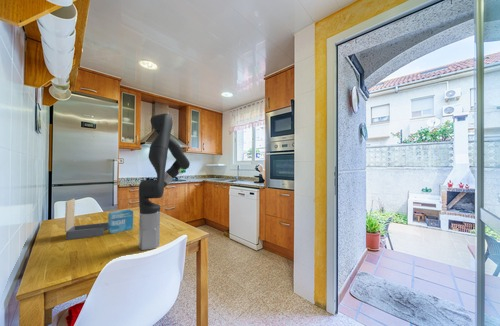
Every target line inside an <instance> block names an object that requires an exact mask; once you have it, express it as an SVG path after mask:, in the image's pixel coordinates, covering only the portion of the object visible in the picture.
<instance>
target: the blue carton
mask: <svg viewBox="0 0 500 326" xmlns="http://www.w3.org/2000/svg"><path fill="white" fill-rule="evenodd" d="M107 216H108V217H107V223H108V230H107V231H108V232H109V233H110V234H117V233H122V232H126V231H130V230H132V229H133V227H134V212H133V210H131V209H124V210H123V209H122V210H118V211H110V212H109V213H108V215H107Z"/></svg>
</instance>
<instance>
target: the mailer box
mask: <svg viewBox="0 0 500 326" xmlns="http://www.w3.org/2000/svg"><path fill="white" fill-rule="evenodd" d="M75 201H76V198H72V199H69V200H66V201H65V214H64V215H65V216H64V217H65V219H64V220H65V221H64V224H65V225H64V232H66V233H65V241H69V240H77V239H85V238H92V237H94V238H95V237H101V236H104V235H105V232H104V231H108V222H98V223H90V224H80V225H75V209H76V208H75V207H76V206H75V205H76V204H75V203H76V202H75Z"/></svg>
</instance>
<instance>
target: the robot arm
mask: <svg viewBox="0 0 500 326" xmlns="http://www.w3.org/2000/svg"><path fill="white" fill-rule="evenodd" d="M149 121H150V124H151V126H152V128H153V130H154V131H155V132H156V134H157V136H156V137H155V138H154V140H153V141H152V142H151V144H150V145H149V150H148V160H149V161H150V164H151V165H152V167H153V168H154V171H155V172H156V179H153V180H152V179H145V180H141V181H140V183H139V186H138V201H139V202H138V205H139V207H138V209H139V229H138V235H139V236H138V249H140V250H141V251H147V250H151V249H154V250H155V249H157V247H159V245H160V243H161V241H160V240H161V235H160V234H161V206H160V205H159V204H157V203H154V202H153V201H152V200H151V201H150V199H161V198H162V197H163V196H164V195H163V194H164V191H165V188H166V187H167V186H168V185H169V184H170V183H171V182H172V181H173V180H174V179H175V178H176V177H177V176H178V175H179V174H180V169H182V170H188V169H189V168H190V166H191V165H190V161H189V159H188V158H187V156H186V155H185V152H183V149H182V147H181V145H180V143H178V142H177V140H176V139H174V138H173V137H171V133H172V130H173V118H172V115H171V114H169V113H160V114H155V115H152V116H151V117H150V120H149ZM169 151H170V153H171V155H172V157H173V158H174V159H175V160H174V162H173V163H172V165H171V166H170V168H168V169H167V170H166V166H167V159H168V154H169V153H168V152H169Z"/></svg>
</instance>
